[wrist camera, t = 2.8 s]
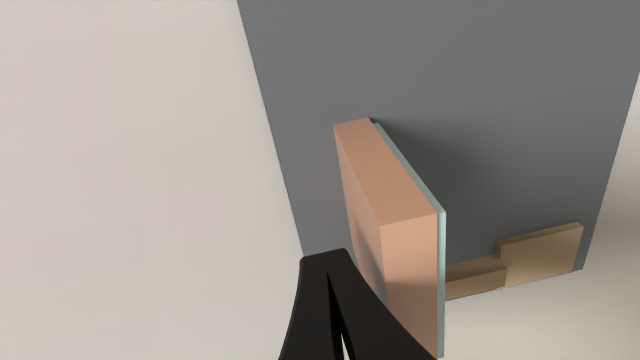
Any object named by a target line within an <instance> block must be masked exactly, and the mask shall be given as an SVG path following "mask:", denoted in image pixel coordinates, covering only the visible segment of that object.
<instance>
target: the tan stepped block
mask: <svg viewBox="0 0 640 360" xmlns="http://www.w3.org/2000/svg"><path fill="white" fill-rule="evenodd" d="M583 228H584V226H583V225H581V224H580V223H579V222H573V223H569V224H565V225H560V226H556V227H552V228H547V229H543V230H539V231H534V232H530V233H526V234H521V235H517V236H513V237H508V238H504V239H500V240H497V244H496V253H495V254H494V255H489V256H485V257H481V258H476V259H472V260H468V261H463V262H459V263H455V264H450V265H446V266H445V300H450V299H454V298H458V297H462V296H467V295H471V294H475V293H479V292H484V291H488V290H492V289H496V290H498V289H502V288H506V287H511V286H515V285H519V284H523V283H528V282H532V281H536V280H540V279H545V278H549V277H553V276H557V275H562V274H566V273H570V272H572V269H573V266H574V262H575V258H576V254H577V251H578V247H579V243H580V240H581V236H582V232H583Z"/></svg>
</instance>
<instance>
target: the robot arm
mask: <svg viewBox="0 0 640 360" xmlns="http://www.w3.org/2000/svg"><path fill="white" fill-rule="evenodd" d="M341 334H342V337H343V340H344V343H345V347H346V350H347V353H348V356H349V359H350V360H437V359H435V358H434V357H433V356H432V355H431V354H430V353H429V352H428V351H427V350H426V349H425V348H424V347H423V346H422V345H421V344H420V343H419V342H418V341H417V340H416V339H415V338H414V337H413V336H412V335H411V334H410V333H409V332H408V331H407V330H406V329H405V328H404V327H403V326H402V325H401V323H400V322H399V321H398V320H397V319H396V318H395V317H394V316H393V314H392V313H391V312H390V311H389V310H388V309H387V307H386V306H385V305H384V304H383V303H382V301H381V300H380V299H379V298H378V296H377V295H376V294H375V293H374V291H373V290H372V289H371V287H370V286H369V285H368V283H367V282H366V281H365V279H364V278H363V276H362V275H361V273H360V272H359V270H358V269H357V267H356V266H355V264H354V262H353V261H352V259H351V257H350V255H349V253H348V251H347V250H346V249H345V248H339V249H335V250H331V251H326V252H322V253H318V254H313V255H309V256H305V257H302V259H301V260H300V270H299V279H298V286H297V291H296V297H295V301H294V306H293V310H292V314H291V319H290V323H289V326H288V330H287V333H286V336H285V340H284V343H283V347H282V350H281V353H280V356H279V359H278V360H344V353H343V345H342V337H341Z"/></svg>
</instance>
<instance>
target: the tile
mask: <svg viewBox="0 0 640 360" xmlns="http://www.w3.org/2000/svg"><path fill="white" fill-rule="evenodd" d="M333 129H334V135H335V141H336V147H337V153H338V159H339V165H340V171H341V178H342V184H343V190H344V196H345V202H346V208H347V214H348V220H349V226H350V233H351V239H352V245H353V250H354V253H355V256H356V259H357V262H358V265H359V268H360V271H361V274H362V276H363V278H364V279H365V281H366V282H367V283H368V285H369V286H370V287H371V289H372V290H373V291H374V293H375V294H376V295H377V296H378V298H379V299H380V300H381V301H382V303H383V304H384V305H385V306H386V307H387V309H388V310H389V311H390V312H391V313H392V314H393V316H394V317H395V318H396V319H397V320H398V321H399V322H400V323H401V325H402V326H403V327H404V328H405V329H406V330H407V331H408V332H409V333H410V334H411V335H412V336H413V337H414V338H415V339H416V340H417V341H418V342H419V343H420V344H421V345H422V346H423V347H424V348H425V349H426V350H427V351H428V352H429V353H430V354H431V355H432V356H433V357H434V358H435V359H438V358H442V357H444V318H445V248H446V212H445V210H444V209H443V208H442V206H441V205H440V204H439V202H438V201H437V200H436V198H435V197H434V196H433V195H432V193H431V192H430V191H429V189H428V188H427V187H426V185H425V184H424V183H423V181H422V180H421V179H420V177H419V176H418V175H417V173H416V172H415V171H414V169H413V168H412V167H411V165H410V164H409V163H408V161H407V160H406V159H405V158H404V156H403V155H402V154H401V152H400V151H399V150H398V148H397V147H396V146H395V144H394V143H393V142H392V140H391V139H390V138H389V136H388V135H387V134H386V132H385V131H384V130H383V128H382V127H381V126H380V125H379V123H374V124H372V122H371V121H370V119H369V118H368V117H367V118H362V119H358V120H353V121H348V122H344V123H339V124H334V125H333Z"/></svg>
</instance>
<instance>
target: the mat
mask: <svg viewBox="0 0 640 360" xmlns="http://www.w3.org/2000/svg"><path fill="white" fill-rule="evenodd" d="M237 3H238V7H239V10H240V14H241V18H242V22H243V26H244V29H245V33H246V37H247V41H248V45H249V49H250V52H251V56H252V60H253V64H254V68H255V71H256V75H257V79H258V83H259V87H260V90H261V94H262V98H263V102H264V106H265V110H266V113H267V117H268V121H269V125H270V129H271V132H272V136H273V140H274V144H275V148H276V151H277V155H278V159H279V163H280V167H281V171H282V174H283V178H284V182H285V186H286V190H287V193H288V197H289V201H290V205H291V209H292V212H293V216H294V220H295V224H296V228H297V232H298V235H299V239H300V243H301V247H302V251H303V254H304V257H305V256H309V255H313V254H318V253H322V252H326V251H331V250H335V249H339V248H345V249H346V250H347V251H348V253H349V255H350V257H351V259H352V261H353V262H354V264H355V266H356V267H357V269H358V270H359V272H360V273H361V271H360V268H359V265H358V262H357V259H356V256H355V253H354V250H353V245H352V239H351V233H350V226H349V220H348V214H347V208H346V202H345V196H344V190H343V184H342V178H341V171H340V165H339V159H338V153H337V147H336V141H335V135H334V129H333V125H334V124H339V123H344V122H348V121H353V120H358V119H362V118H367V117H368V118H369V119H370V121H371V122H372V124H374V123H379V125H380V126H381V127H382V128H383V130H384V131H385V132H386V134H387V135H388V136H389V138H390V139H391V140H392V142H393V143H394V144H395V146H396V147H397V148H398V150H399V151H400V152H401V154H402V155H403V156H404V158H405V159H406V160H407V161H408V163H409V164H410V165H411V167H412V168H413V169H414V171H415V172H416V173H417V175H418V176H419V177H420V179H421V180H422V181H423V183H424V184H425V185H426V187H427V188H428V189H429V191H430V192H431V193H432V195H433V196H434V197H435V198H436V200H437V201H438V202H439V204H440V205H441V206H442V208H443V209H444V210H445V212H446V248H445V266H446V265H450V264H455V263H459V262H463V261H468V260H472V259H476V258H481V257H485V256H489V255H494V254H495V253H496V244H497V240H500V239H504V238H508V237H513V236H517V235H521V234H526V233H530V232H534V231H539V230H543V229H547V228H552V227H556V226H560V225H565V224H569V223H573V222H579V223H580V224H581V225H583V226H584V228H583V232H582V236H581V240H580V243H579V247H578V251H577V254H576V258H575V262H574V266H573V269H572V272H573V271H577V270H581V269H583V266H584V262H585V259H586V255H587V252H588V248H589V245H590V241H591V238H592V234H593V231H594V228H595V224H596V221H597V217H598V214H599V210H600V207H601V203H602V200H603V196H604V193H605V190H606V186H607V183H608V179H609V176H610V172H611V169H612V165H613V162H614V158H615V155H616V152H617V148H618V145H619V141H620V138H621V134H622V131H623V127H624V124H625V120H626V117H627V114H628V110H629V107H630V103H631V100H632V96H633V93H634V89H635V86H636V82H637V79H638V76H639V72H640V0H237ZM361 275H362V274H361ZM492 290H496V289H492ZM492 290H488V291H492ZM484 292H487V291H484ZM479 293H483V292H479ZM479 293H475V294H479ZM475 294H471V295H475ZM467 296H470V295H467ZM462 297H466V296H462ZM462 297H458V298H462ZM454 299H457V298H454ZM450 300H453V299H450ZM445 301H449V300H445Z"/></svg>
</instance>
